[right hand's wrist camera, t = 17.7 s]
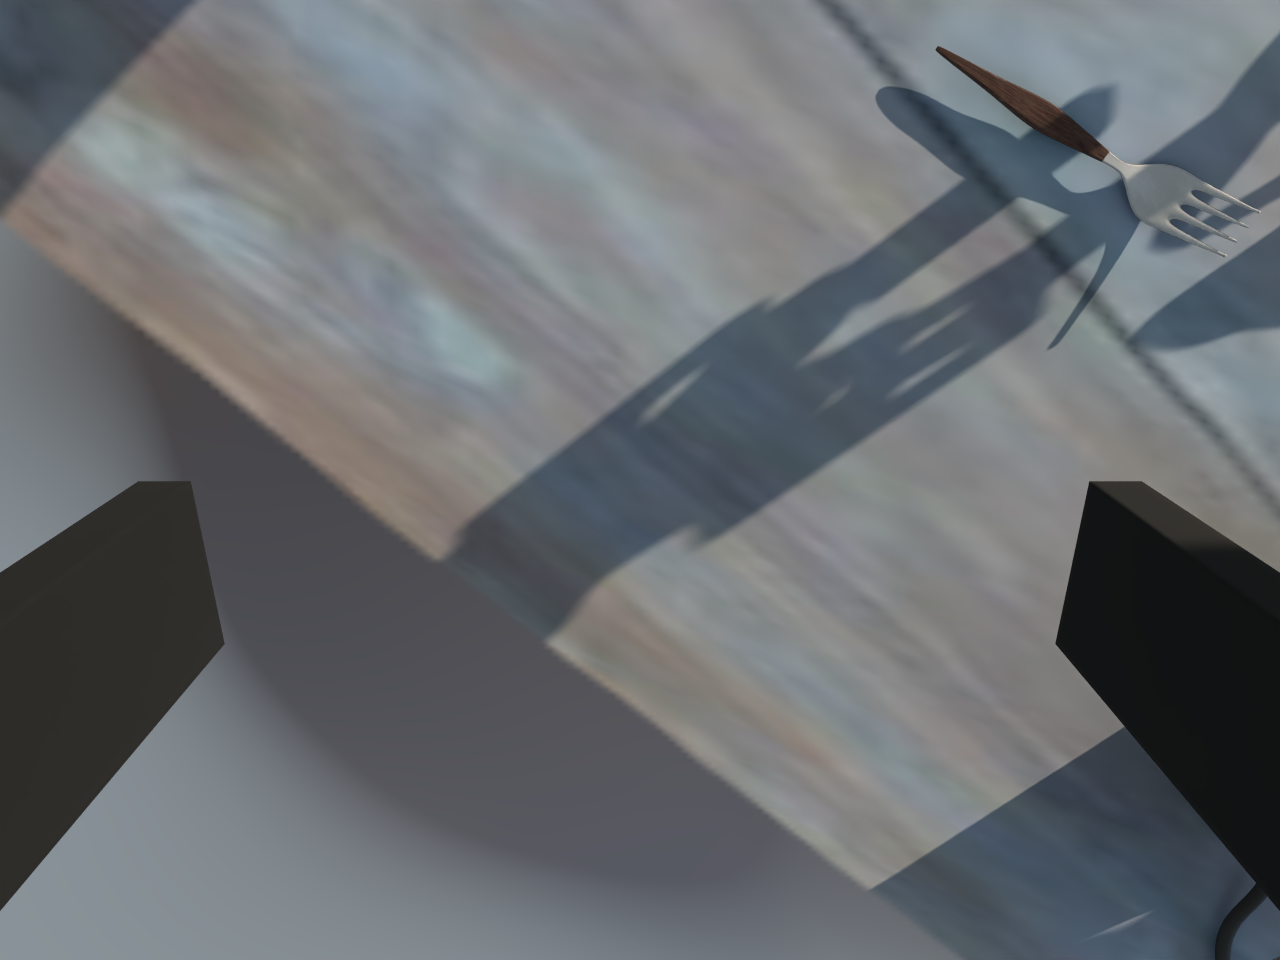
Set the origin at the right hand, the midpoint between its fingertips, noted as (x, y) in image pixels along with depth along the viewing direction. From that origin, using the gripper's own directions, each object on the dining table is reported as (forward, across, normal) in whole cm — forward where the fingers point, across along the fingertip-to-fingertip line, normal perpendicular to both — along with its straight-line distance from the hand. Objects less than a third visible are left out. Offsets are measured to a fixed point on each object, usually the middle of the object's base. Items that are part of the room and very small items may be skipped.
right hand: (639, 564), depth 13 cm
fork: (+29, -20, -6) cm, 36 cm away
